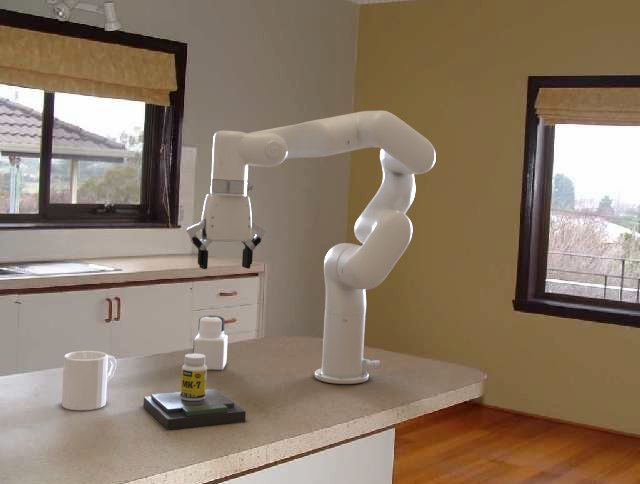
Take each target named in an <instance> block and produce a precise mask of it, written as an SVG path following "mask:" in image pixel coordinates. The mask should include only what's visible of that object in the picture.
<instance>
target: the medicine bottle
mask: <svg viewBox="0 0 640 484" xmlns="http://www.w3.org/2000/svg"><path fill="white" fill-rule="evenodd" d="M225 323H226V320H225V318H224V317H222V316H220V315H215V314H213V315H211V314H210V315H209V314H208V315H203V316H200V317H199V318H198V329H197V335H196V336H195V337H194V339H193V345H192V347H193V349H192V354H203V355H205V356H206V362H205V364H204V365H206V367H207V371H208V370H209V371H210V370H211V371H222V370H224V368H225V366H226V365H227V358H228V357H227V356H228V334H225V325H226V324H225Z"/></svg>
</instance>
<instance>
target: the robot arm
mask: <svg viewBox="0 0 640 484" xmlns="http://www.w3.org/2000/svg"><path fill="white" fill-rule="evenodd" d="M212 142H213V143H212V161H211V162H212V163H211V182H210V184H211V185H210V193H207V194H206V196H205V200H204V203H203V209H202V210H203V211H202V215H201V221H200V222H197V223H196V224H194V225H192V226H190V227H187V228H186V233H187V235H188V237H189V239H190V242H191V243H192V244H193V245H194V246H195V247H196V249H197V265H198V266H199V268H200V269H202V270H207V269H208V265H209V264H208V263H209V250H207V248H208V247H209V246H210V244H211V243H212V242H220V243H221V242H223V243H224V242H227V243H228V242H233V243H234V242H235V243H236V242H238V243H239V242H241V243H242V245H243V246H244V248H243V249H242V259H241V267H242V268H244V269H251V265H252V264H253V257H254V256H253V253H254V250H256V247H257V246H259V245H260V244H261V242H262V239H263V237H264V236H265V234H266V230H265V229H264V228H262V227H261V226H259V225H257V224H256V223H254V222H252V221H253V220H252V207H251V199H250V196H249V195H247V194H248V193H249V192H250V191H253V190H254V185H253V184H252V183H249V181H248V174H249V166H251V167H261V168H274V167H277V166H279V165H281V164H282V163H283V162H284V161H285V160H287V159H288V160H289V159H290V160H291V159H299V158H300V159H301V158H308V159H310V158H323V157H330V156H334V155H338V154H344V153H348V152H354V151H358V150H362V149H368V148H380V153H379V159H380V165H381V168H382V169H381V170H382V182H381V185H380V187H379V188H378V190H377V192H376V193H375V195H374V196H373V198H372V199H371V200H370V201H369V202H368V204H367V205H366V207H365V209H364V210H363V211H362V213H360V215H359V217H358V218H357V220H356V221H355V224H354V228H353V232H354V236H355V239H356V240H358V241H359V242H360V243H361V244H362V245H359V244H355V243H349V242H343V243H338V244H335V245H334V246H332V247H331V248H330V249H329V250H328V252H327V253H326V254H325V257H324V260H323V276H324V277H323V278H324V284H325V285H324V286H325V304H324V305H325V306H324V319H323V323H324V324H323V337H322V355H321V356H322V357H321V368H318V369H316V370H315V371H314V379H317V380H318V381H320V382H323V383H329V384H336V385H337V384H338V385H355V384H361V383H365V382H366V381H369V373H368V371H369V370H370V369H373V370H374V369H375V370H376V369H381V367H382V363H381V361H380V359H377V360H370V359H366V358H364V345H365V329H366V327H365V326H366V313H367V295H366V291H370V290H373V289H375V288H377V287H378V286H380V285H381V284H382V283H383V282H384V281H385V280H386V279H387V277H388V275H389V274H390V273H391V271H392V270H393V269H394V267H395V266H396V264H397V263H398V261H399V260H400V258H401V257H402V256H403V254H404V253H405V251H407V249H408V247H409V244H410V242H411V240H412V236H413V224H412V222H411V220H410V218H409V217H408V216H407V214H406V213H407V212H408V210H409V209H410V207H411V205H412V203H413V201H414V198H415V195H416V182H415V175H422V174H425V173H428V172H429V171H430V170H431V169H432V168H433V167H434V165H435V163H436V158H437V157H436V156H437V155H436V150H435V147H434V145H433V143H431V141H430V140H428V139H427V138H426V137H425V136H424V135H422V134H421V133H419V131H417V130H416V129H414V128H413V127H412V126H411V125H409V124H407V123H406V122H405V121H403V120H402V119H401V118H399V116H396V115H395V114H393V113H392V112H389V111H387V110H380V109H379V110H363V111H357V112H351V113H346V114H340V115H335V116H331V117H326V118H319V119H314V120H309V121H304V122H300V123H296V124H291V125H285V126H278V127H273V128H268V129H263V130H256V131H251V132H247V133H246V132H244V131H238V130H217V131H216V132H214V135H213V141H212ZM199 231H200V237H201V239H199V237H198V236H197V232H199ZM252 231H253V232H255V236H254V237H253V238H252V239H251V237H252Z"/></svg>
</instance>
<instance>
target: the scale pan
mask: <svg viewBox="0 0 640 484" xmlns="http://www.w3.org/2000/svg"><path fill="white" fill-rule="evenodd" d="M180 393H181V391H174V392H173V391H172V392H163V393H162V392H161V393H151V395H150V396H151V398H152V399H153V400H154V401H155V402H156V403H157V404H158V405H159V406H161V407H162V408H163V409H164V410H165V411H166V412H167V413H176V412H182V411H183V408H188V407H199V406H209V405H219V404H224V405H225V406H227V407H234V403H235V401H232V400H231V399H230V398H228V397H227V396H225V395H224V394H223V393H221V392H220V391H219V390H217V389H216V388H208V389H207V388H206V392H205V398H204V399H203V400H200V401H186V400H183V399H181V397H180Z"/></svg>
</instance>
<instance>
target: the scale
mask: <svg viewBox="0 0 640 484" xmlns="http://www.w3.org/2000/svg"><path fill="white" fill-rule="evenodd" d="M142 405H143V408H144V409H145V410H146V411H147V412H148V414H150V415H151V416H152V417H153V418H155V419H156V420H157V422H159V423H160V424H161V425H162V426H163V428H165V429H166V430H167V431H173V430H180V429H190V428H199V427H206V426H207V427H208V426H216V425H226V424H235V423H243V422H244V423H245V422H246V413H247V411H246V410H244V408H242V407H241V406H239V405H238V404H236V403H235V402H234V407H227V406H225V405H224V404H219V405H209V406H199V407H188V408H183V411H182V412H176V413H167V412H166V411H165V410H164V409H163V408H162V407H161V406H159V405H158V404H157V403H156V402H155V401H154V400H153V399H152V398H151V395H148V396H143V404H142Z"/></svg>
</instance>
